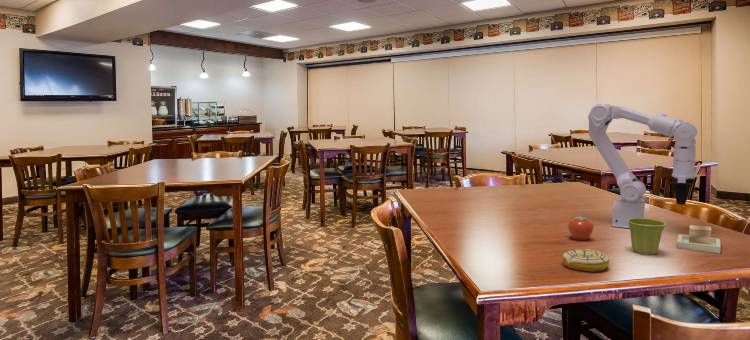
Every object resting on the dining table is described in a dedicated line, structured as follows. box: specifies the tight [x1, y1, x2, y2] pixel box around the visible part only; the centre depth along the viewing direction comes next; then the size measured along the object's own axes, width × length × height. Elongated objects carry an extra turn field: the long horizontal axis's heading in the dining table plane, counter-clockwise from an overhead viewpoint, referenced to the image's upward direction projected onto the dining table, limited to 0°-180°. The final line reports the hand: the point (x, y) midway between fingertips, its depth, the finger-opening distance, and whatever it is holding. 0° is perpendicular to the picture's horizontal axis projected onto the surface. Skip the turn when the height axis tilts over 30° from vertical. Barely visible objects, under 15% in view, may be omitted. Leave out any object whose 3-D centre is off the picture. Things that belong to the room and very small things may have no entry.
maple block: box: [688, 224, 712, 245], centre depth 131 cm, size 5×5×5 cm
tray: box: [676, 233, 722, 254], centre depth 131 cm, size 10×10×2 cm
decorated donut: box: [562, 248, 610, 273], centre depth 116 cm, size 10×11×4 cm
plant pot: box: [627, 217, 667, 256], centre depth 127 cm, size 9×9×9 cm
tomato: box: [567, 213, 595, 241], centre depth 141 cm, size 7×7×8 cm
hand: (681, 202), depth 146 cm, fingers open, 7 cm apart
